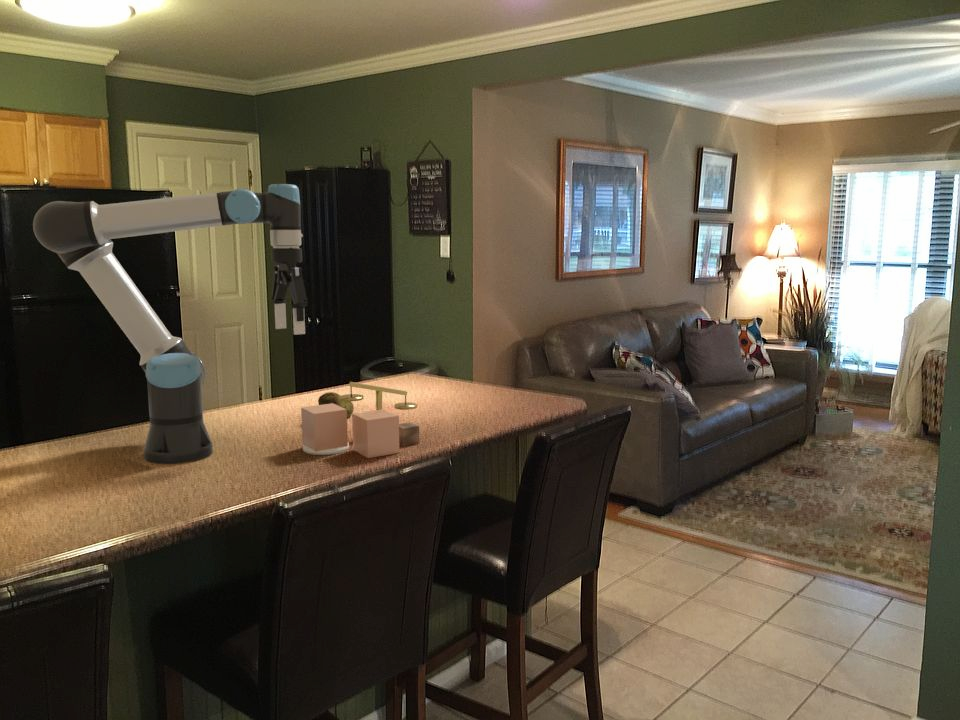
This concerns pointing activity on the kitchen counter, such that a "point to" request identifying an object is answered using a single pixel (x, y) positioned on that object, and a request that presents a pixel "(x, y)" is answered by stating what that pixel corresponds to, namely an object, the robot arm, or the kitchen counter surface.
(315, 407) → the peach pink cube
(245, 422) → the kitchen counter surface
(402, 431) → the gray metal block
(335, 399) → the potato
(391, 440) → the tan cardboard-like box
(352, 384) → the balance
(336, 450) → the dish
